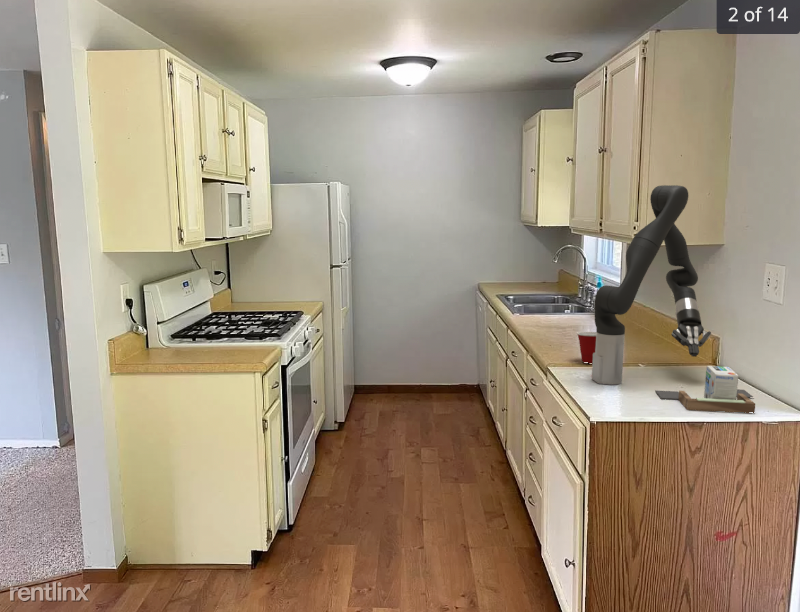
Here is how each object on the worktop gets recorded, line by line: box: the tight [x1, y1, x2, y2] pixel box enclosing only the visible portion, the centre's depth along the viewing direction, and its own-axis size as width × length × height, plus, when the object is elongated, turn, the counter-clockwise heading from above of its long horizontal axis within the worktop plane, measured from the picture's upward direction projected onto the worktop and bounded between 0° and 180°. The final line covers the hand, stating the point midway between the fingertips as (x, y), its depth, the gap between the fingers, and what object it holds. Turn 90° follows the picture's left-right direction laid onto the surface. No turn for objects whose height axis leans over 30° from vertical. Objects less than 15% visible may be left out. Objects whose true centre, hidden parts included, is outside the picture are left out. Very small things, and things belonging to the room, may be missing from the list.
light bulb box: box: [703, 365, 739, 400], centre depth 188 cm, size 11×7×11 cm, turn 167°
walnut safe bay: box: [678, 390, 756, 414], centre depth 186 cm, size 10×18×3 cm, turn 80°
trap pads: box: [655, 388, 754, 401], centre depth 197 cm, size 14×29×1 cm, turn 80°
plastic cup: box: [576, 331, 596, 363], centre depth 238 cm, size 11×11×12 cm
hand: (694, 355), depth 207 cm, fingers closed
